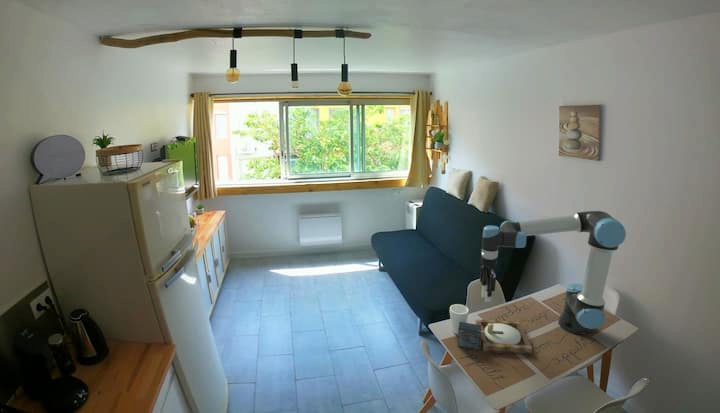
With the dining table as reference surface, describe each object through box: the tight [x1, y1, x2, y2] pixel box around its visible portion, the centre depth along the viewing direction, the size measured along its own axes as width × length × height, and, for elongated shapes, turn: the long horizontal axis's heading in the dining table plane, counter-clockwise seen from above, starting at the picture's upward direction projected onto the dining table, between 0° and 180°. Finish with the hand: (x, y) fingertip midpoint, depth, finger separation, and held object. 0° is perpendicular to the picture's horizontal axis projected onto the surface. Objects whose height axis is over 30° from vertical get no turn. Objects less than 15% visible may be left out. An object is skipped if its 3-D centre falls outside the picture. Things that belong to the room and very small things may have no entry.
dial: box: [484, 323, 521, 345], centre depth 186 cm, size 17×17×6 cm
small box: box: [457, 322, 481, 351], centre depth 182 cm, size 11×6×10 cm, turn 71°
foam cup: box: [449, 303, 470, 335], centre depth 193 cm, size 10×9×13 cm
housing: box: [475, 319, 533, 356], centre depth 187 cm, size 22×22×4 cm
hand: (486, 299), depth 189 cm, fingers open, 4 cm apart
